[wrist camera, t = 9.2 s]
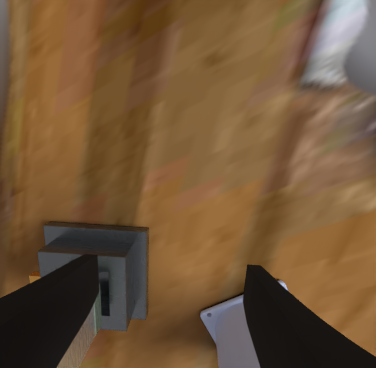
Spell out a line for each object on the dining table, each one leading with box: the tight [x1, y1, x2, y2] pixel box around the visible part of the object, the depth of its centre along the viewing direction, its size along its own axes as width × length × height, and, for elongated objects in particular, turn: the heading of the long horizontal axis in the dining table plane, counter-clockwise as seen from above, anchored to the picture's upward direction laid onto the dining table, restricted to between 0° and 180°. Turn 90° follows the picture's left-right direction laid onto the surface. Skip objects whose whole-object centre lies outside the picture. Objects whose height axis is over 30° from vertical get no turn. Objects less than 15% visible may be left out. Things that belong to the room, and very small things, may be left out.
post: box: [57, 283, 102, 368], centre depth 14 cm, size 4×4×6 cm
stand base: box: [29, 222, 149, 331], centre depth 20 cm, size 10×10×4 cm
